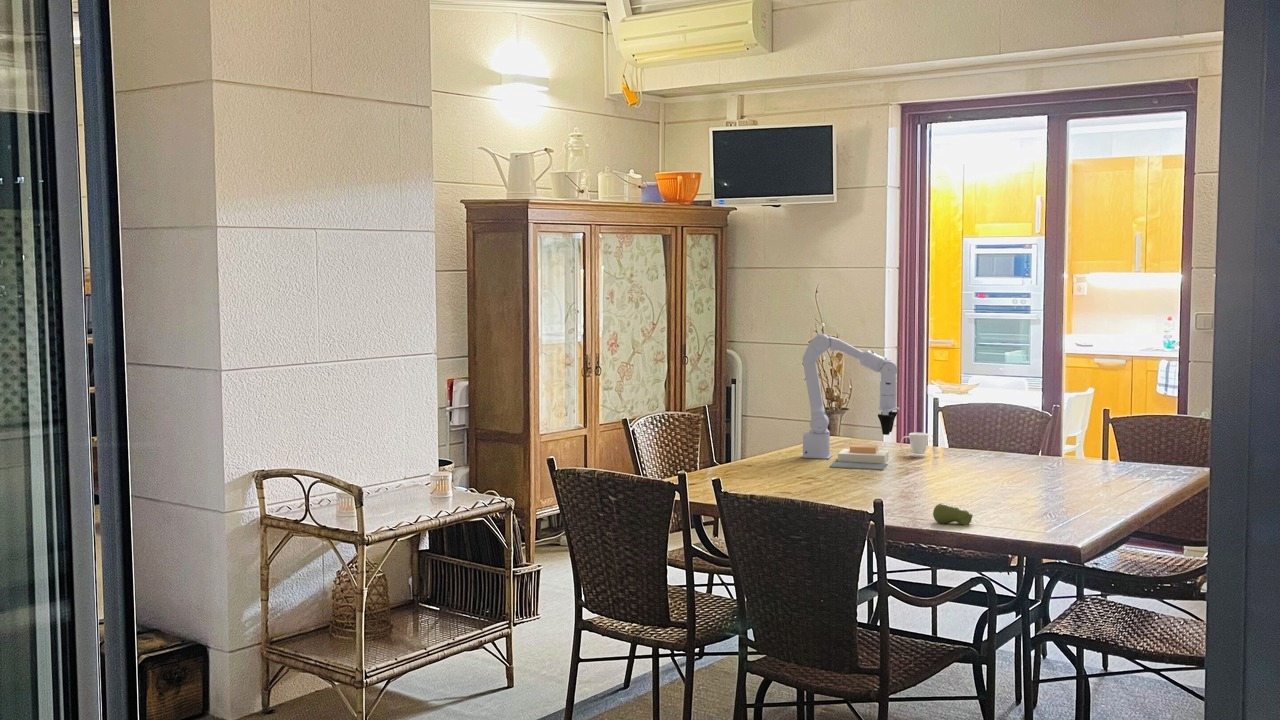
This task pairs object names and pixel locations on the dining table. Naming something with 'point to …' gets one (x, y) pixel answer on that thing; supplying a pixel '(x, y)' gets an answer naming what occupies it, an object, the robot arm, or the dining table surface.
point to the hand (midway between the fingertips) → (887, 433)
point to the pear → (951, 514)
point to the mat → (858, 465)
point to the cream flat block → (863, 456)
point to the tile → (863, 449)
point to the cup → (917, 443)
